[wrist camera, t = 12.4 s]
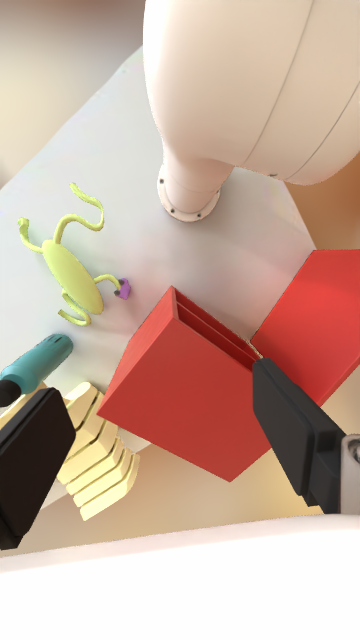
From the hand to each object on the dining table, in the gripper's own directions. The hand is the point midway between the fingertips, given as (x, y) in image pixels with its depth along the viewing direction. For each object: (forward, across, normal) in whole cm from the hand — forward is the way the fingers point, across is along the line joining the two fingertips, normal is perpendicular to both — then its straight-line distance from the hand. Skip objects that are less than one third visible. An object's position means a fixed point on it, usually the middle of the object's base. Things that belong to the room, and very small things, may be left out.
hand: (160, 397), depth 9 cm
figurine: (+38, +18, -7) cm, 43 cm away
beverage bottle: (+38, +28, +11) cm, 49 cm away
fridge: (+38, -4, +16) cm, 42 cm away
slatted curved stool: (+38, +28, +32) cm, 57 cm away
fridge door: (+38, -30, +10) cm, 49 cm away
